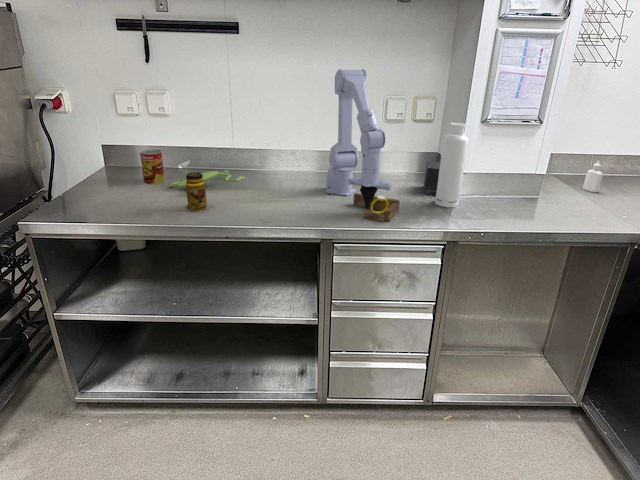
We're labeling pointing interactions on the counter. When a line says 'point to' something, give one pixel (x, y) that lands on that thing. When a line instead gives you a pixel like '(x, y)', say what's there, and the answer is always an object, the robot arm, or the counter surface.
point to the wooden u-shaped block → (380, 205)
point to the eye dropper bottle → (593, 179)
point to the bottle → (452, 166)
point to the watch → (380, 200)
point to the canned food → (152, 166)
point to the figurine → (208, 176)
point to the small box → (431, 177)
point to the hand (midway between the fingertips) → (367, 207)
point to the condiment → (195, 193)
